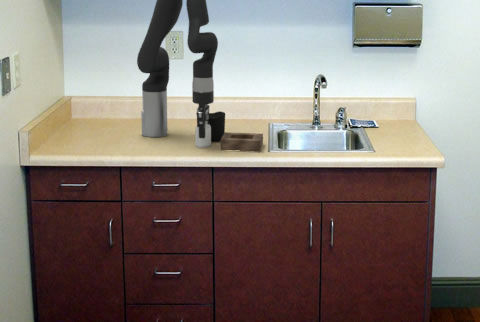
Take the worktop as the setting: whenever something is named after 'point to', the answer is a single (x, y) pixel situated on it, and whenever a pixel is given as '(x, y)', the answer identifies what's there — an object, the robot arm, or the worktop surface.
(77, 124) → the worktop surface
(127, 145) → the worktop surface
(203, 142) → the eye dropper bottle
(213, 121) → the pen holder
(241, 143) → the recessed rectangular tray
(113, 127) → the worktop surface
